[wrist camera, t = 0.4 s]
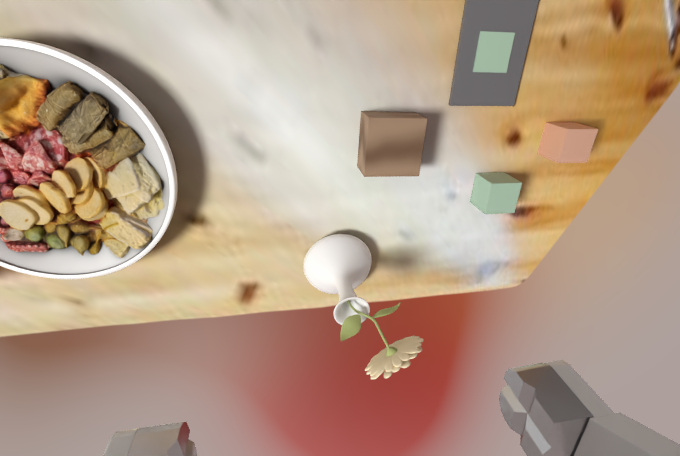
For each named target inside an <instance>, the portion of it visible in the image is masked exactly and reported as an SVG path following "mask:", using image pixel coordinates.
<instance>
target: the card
mask: <svg viewBox="0 0 680 456" xmlns="http://www.w3.org/2000/svg"><path fill="white" fill-rule="evenodd" d="M538 2H539V0H465V5H464V11H463V18H462V24H461V30H460V37H459V43H458V49H457V56H456V62H455V68H454V75H453V81H452V87H451V94H450V100H449V105H450V106H514V104H515V99H516V95H517V91H518V87H519V82H520V78H521V74H522V70H523V65H524V61H525V57H526V53H527V48H528V44H529V40H530V36H531V31H532V27H533V23H534V19H535V14H536V10H537V6H538Z"/></svg>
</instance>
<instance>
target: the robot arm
mask: <svg viewBox="0 0 680 456" xmlns="http://www.w3.org/2000/svg"><path fill="white" fill-rule="evenodd" d="M504 380H505V381H506V383H507V385H506V386H505V387H504V388H503V389H502V390H501V393H500V398H499V401H500V407H501V411H502V414H503V416H504V418H505V420H506V422H507V424H508V425H509V427H510V428H511V429H512V430H514V431H515V432H517V433H518V434H520V435H521V442H520V445H521V447H522V448H523V450H524V451H525V453H526V455H527V456H680V444H678V443H676V442H674V441H672V440H670V439H668V438H666V437H665V436H662V435H661V434H659V433H657V432H655V431H653V430H652V429H650V428H648V427H646V426H644V425H642V424H640V423H639V422H637V421H635V420H633V419H631V418H629V417H627V416H626V415H624V414H621V413H614V412H613V411H612V410H611V409H610V408H609V407H608V406H607V404H606V403H605V402H604V401H603V400H602V399H601V398H600V397H599V396H598V395H597V394H596V393H595V392H594V391H593V389H592V388H591V387H590V386H589V385H588V384H587V383H586V382H585V381H584V380H583V379H582V378H581V376H580V375H579V374H578V373H577V372H576V371H575V370H574V369H573V368H572V367H571V366H570V365H569V364H568V363H567V362H565V361H563V360H560V361H554V362H548V363H539V364H534V365H527V366H522V367H516V368H511V369H508V371H506V373H505V377H504ZM189 433H190V429H189V427H188V425H187V422H181V423H174V424H166V425H160V426H152V427H145V428H137V429H130V430H124V431H118V432H116V433H115V434H114V435H113V437H112V438H111V439H110V441H109V443H108V445H107V448H106V450H105V453H104V455H103V456H197V453H196V447H195V444H194V442H192V441H190V440H189V439H188V438H189Z"/></svg>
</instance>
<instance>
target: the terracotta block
mask: <svg viewBox="0 0 680 456" xmlns="http://www.w3.org/2000/svg"><path fill="white" fill-rule="evenodd" d="M597 132H598V129H597V128H593V127H589V126H586V125H582V124H579V123H575V122H546V123H545V127H544V130H543V134H542V138H541V141H540V145H539V148H538V152H537V154H538V155H541V156H543V157H545V158H547V159H550V160H552V161H554V162H557V163H582V162H587V161H588V158H589V155H590V152H591V150H592V147H593V144H594V141H595V138H596V135H597Z"/></svg>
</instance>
